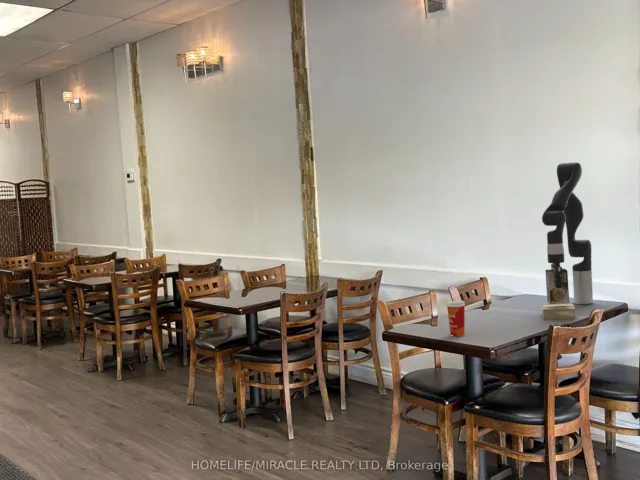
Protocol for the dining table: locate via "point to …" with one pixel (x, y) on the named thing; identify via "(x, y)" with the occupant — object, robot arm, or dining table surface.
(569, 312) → the birch block
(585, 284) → the robot arm
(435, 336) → the dining table surface
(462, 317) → the coffee cup
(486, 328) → the dining table surface
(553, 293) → the coffee box
